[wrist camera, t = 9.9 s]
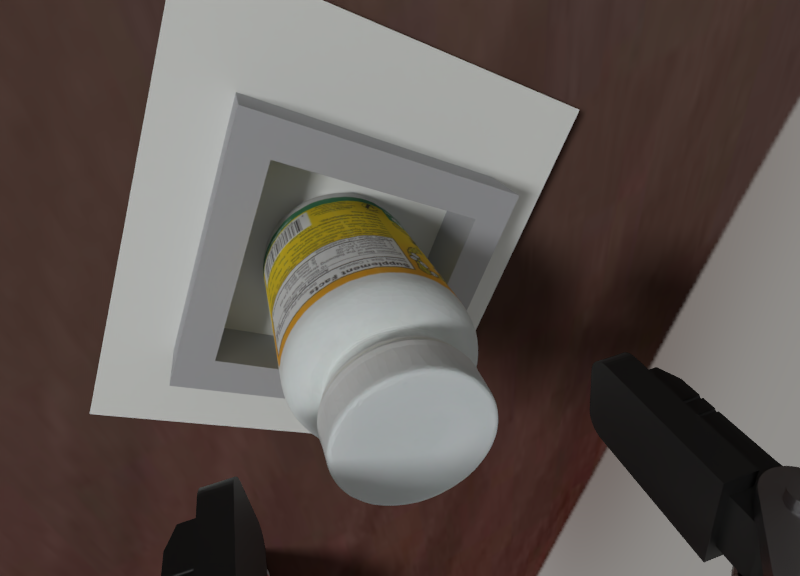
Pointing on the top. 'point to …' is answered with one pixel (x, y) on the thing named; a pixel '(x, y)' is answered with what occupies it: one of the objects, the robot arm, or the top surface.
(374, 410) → the supplement bottle
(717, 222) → the top surface
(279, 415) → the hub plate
